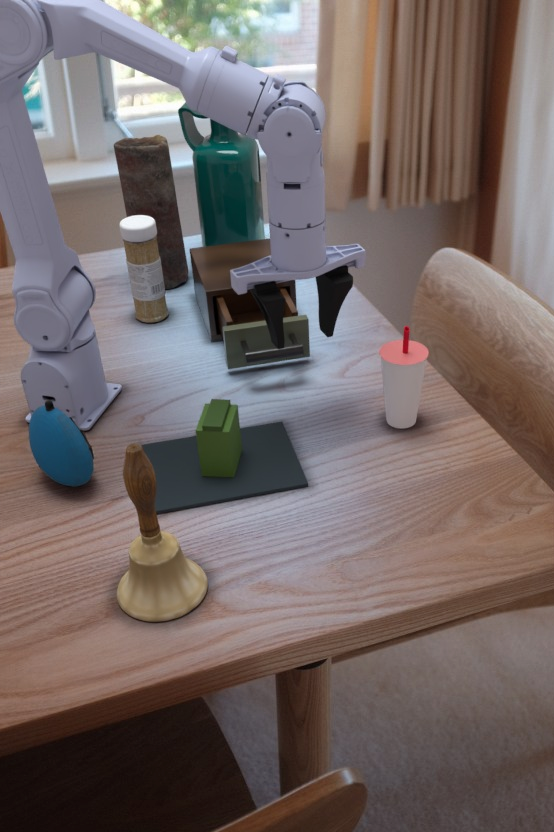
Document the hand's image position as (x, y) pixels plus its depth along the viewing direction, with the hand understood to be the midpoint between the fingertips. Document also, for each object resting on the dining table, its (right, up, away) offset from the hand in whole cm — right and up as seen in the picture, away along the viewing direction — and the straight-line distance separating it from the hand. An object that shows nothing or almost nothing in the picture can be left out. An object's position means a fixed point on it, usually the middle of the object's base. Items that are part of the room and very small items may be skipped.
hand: (302, 338), depth 100 cm
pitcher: (-13, +20, +39) cm, 46 cm away
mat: (-9, -14, -2) cm, 17 cm away
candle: (-22, +15, +33) cm, 42 cm away
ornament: (-25, -16, -4) cm, 29 cm away
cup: (+11, -9, +4) cm, 15 cm away
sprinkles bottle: (-22, +8, +24) cm, 33 cm away
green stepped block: (-9, -14, -2) cm, 16 cm away
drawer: (-6, +2, +16) cm, 17 cm away
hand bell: (-12, -26, -16) cm, 33 cm away
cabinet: (-9, +8, +25) cm, 28 cm away
